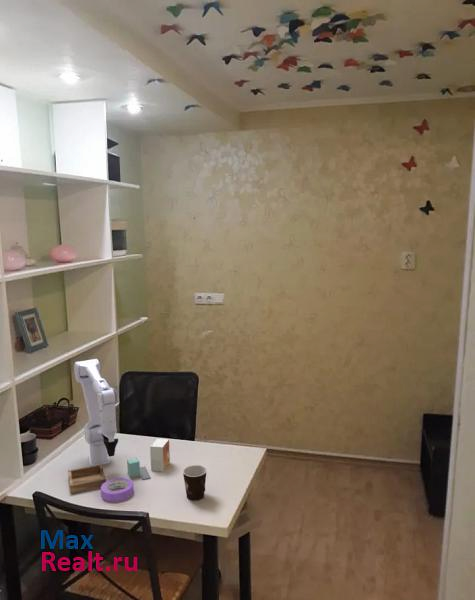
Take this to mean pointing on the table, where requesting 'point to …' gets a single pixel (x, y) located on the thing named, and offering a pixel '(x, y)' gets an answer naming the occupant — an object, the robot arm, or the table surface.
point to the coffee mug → (195, 482)
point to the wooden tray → (86, 478)
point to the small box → (160, 454)
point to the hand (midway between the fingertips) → (110, 451)
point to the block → (133, 467)
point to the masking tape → (120, 494)
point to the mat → (144, 473)
